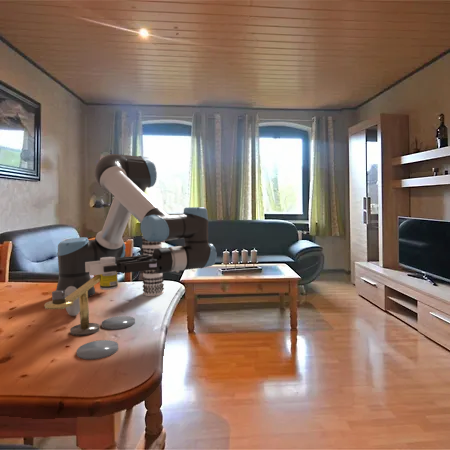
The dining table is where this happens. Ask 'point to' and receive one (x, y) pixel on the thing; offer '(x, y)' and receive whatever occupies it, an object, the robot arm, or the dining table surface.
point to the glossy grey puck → (118, 322)
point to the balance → (82, 294)
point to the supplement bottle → (108, 276)
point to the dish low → (97, 349)
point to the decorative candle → (151, 271)
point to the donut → (75, 307)
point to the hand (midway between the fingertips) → (87, 268)
